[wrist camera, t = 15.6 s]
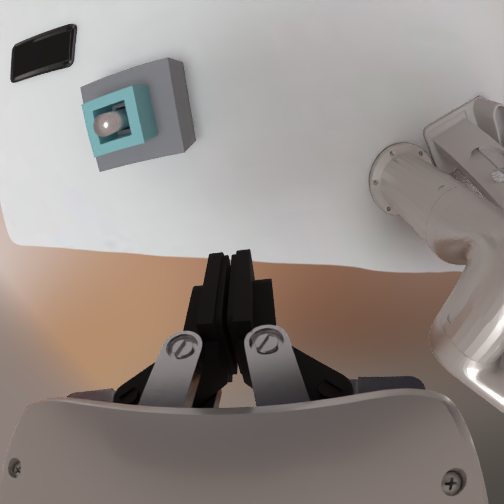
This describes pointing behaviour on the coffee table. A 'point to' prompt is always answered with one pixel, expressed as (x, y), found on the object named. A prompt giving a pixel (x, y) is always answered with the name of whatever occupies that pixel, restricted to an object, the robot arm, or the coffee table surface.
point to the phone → (43, 53)
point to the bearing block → (164, 107)
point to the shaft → (111, 122)
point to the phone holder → (471, 145)
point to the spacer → (137, 115)
